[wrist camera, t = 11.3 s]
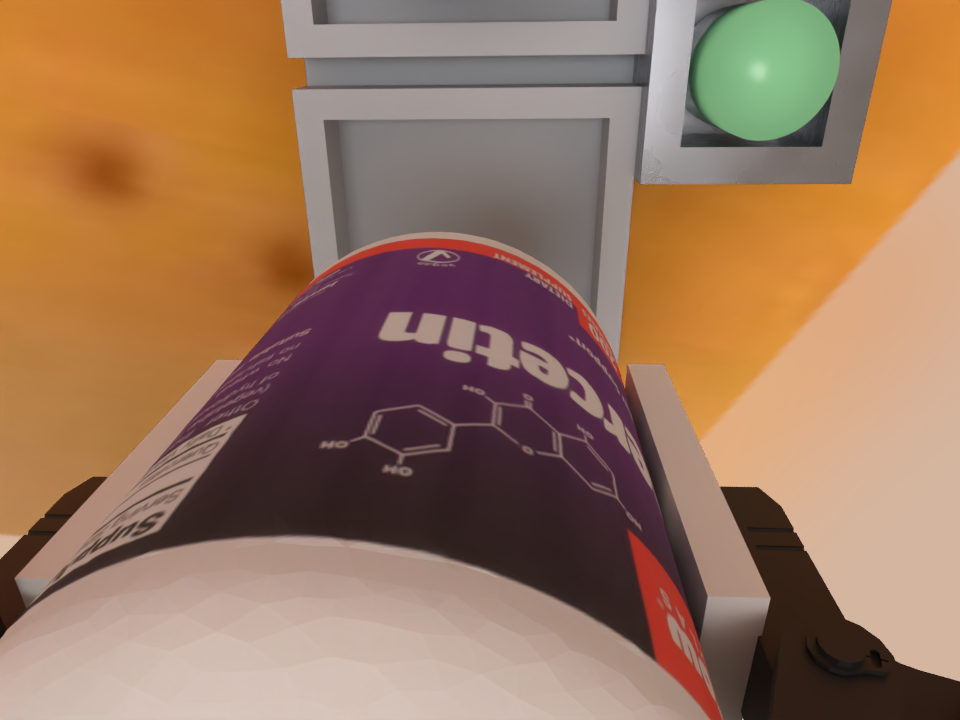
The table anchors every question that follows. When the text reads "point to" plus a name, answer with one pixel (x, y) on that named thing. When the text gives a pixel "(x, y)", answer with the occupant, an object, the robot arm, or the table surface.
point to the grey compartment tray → (473, 128)
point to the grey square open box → (731, 159)
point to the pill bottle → (385, 524)
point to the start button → (762, 67)
